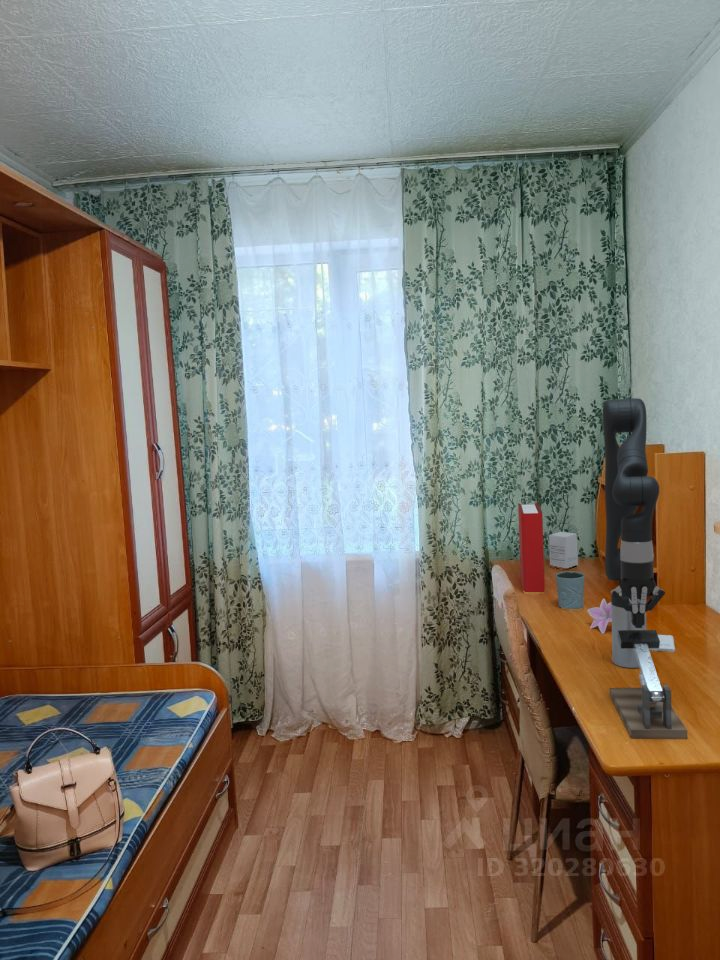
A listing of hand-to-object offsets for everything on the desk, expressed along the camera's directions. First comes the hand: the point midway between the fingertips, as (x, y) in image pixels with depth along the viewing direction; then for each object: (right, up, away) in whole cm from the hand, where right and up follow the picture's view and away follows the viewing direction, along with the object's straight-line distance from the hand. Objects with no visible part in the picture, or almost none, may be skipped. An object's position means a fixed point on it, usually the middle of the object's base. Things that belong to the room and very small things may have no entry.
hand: (637, 626), depth 182 cm
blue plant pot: (+8, -10, +86) cm, 87 cm away
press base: (0, -20, -4) cm, 21 cm away
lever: (0, -10, -6) cm, 11 cm away
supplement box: (+22, -3, +145) cm, 147 cm away
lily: (+12, -13, +60) cm, 63 cm away
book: (+2, -7, +118) cm, 118 cm away
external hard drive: (+23, -15, +43) cm, 51 cm away
